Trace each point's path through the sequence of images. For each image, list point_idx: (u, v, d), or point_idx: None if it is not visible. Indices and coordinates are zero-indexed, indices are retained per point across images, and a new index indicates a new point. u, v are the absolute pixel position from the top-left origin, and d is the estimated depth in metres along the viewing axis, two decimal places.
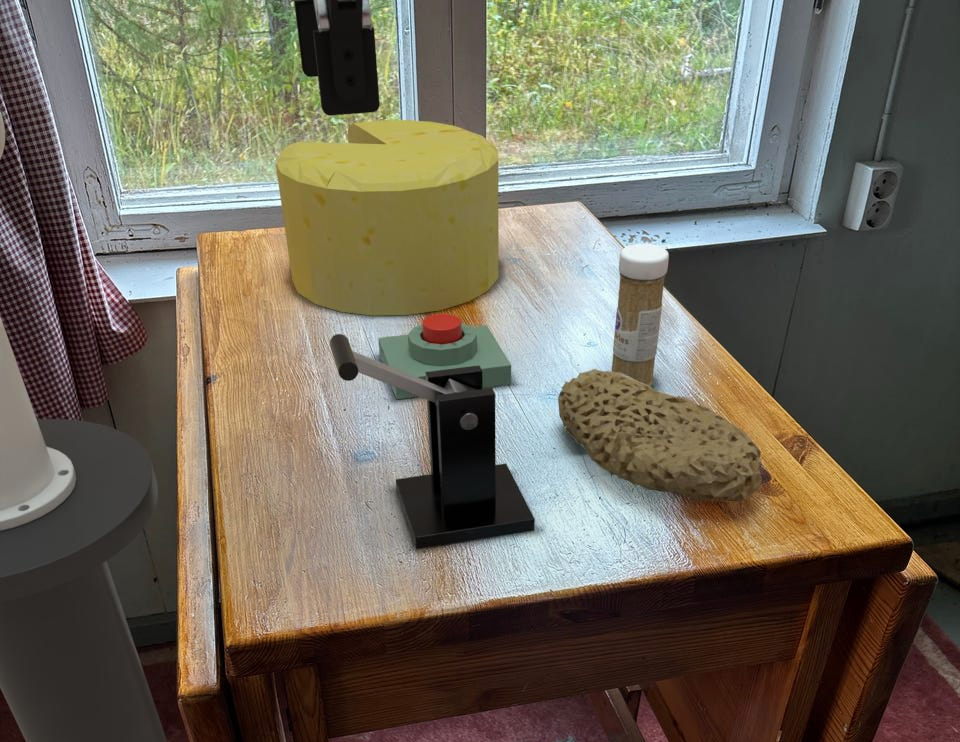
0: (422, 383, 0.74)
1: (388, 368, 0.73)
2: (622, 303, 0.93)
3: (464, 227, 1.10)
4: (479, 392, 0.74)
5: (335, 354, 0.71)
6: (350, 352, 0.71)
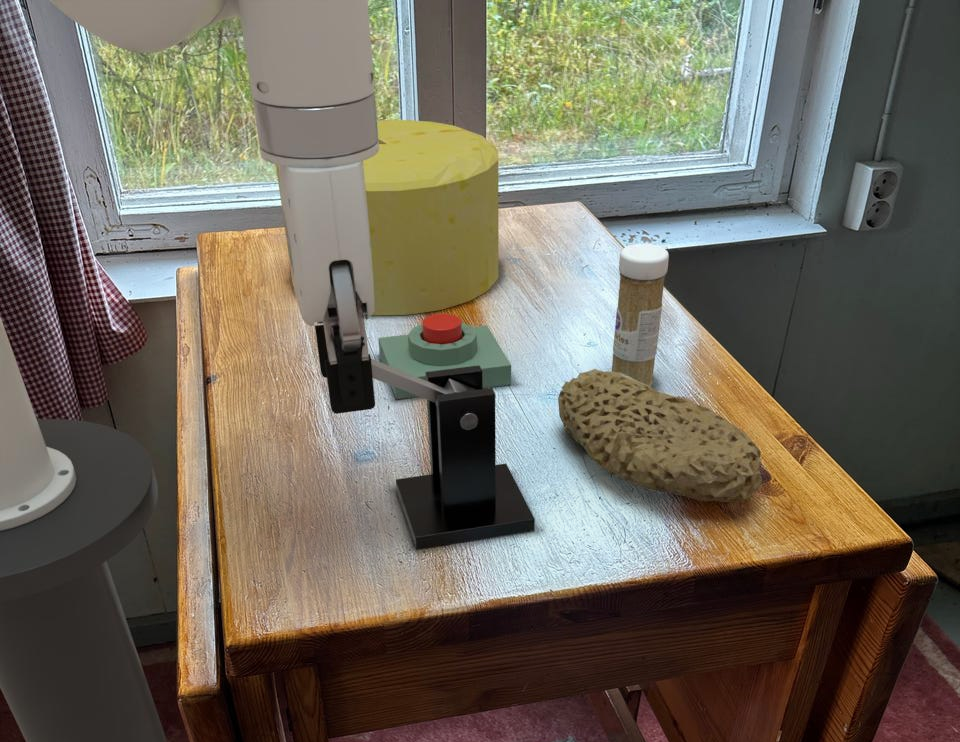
0: (422, 383, 0.74)
1: (388, 368, 0.73)
2: (622, 303, 0.93)
3: (464, 227, 1.10)
4: (479, 392, 0.74)
5: None
6: None
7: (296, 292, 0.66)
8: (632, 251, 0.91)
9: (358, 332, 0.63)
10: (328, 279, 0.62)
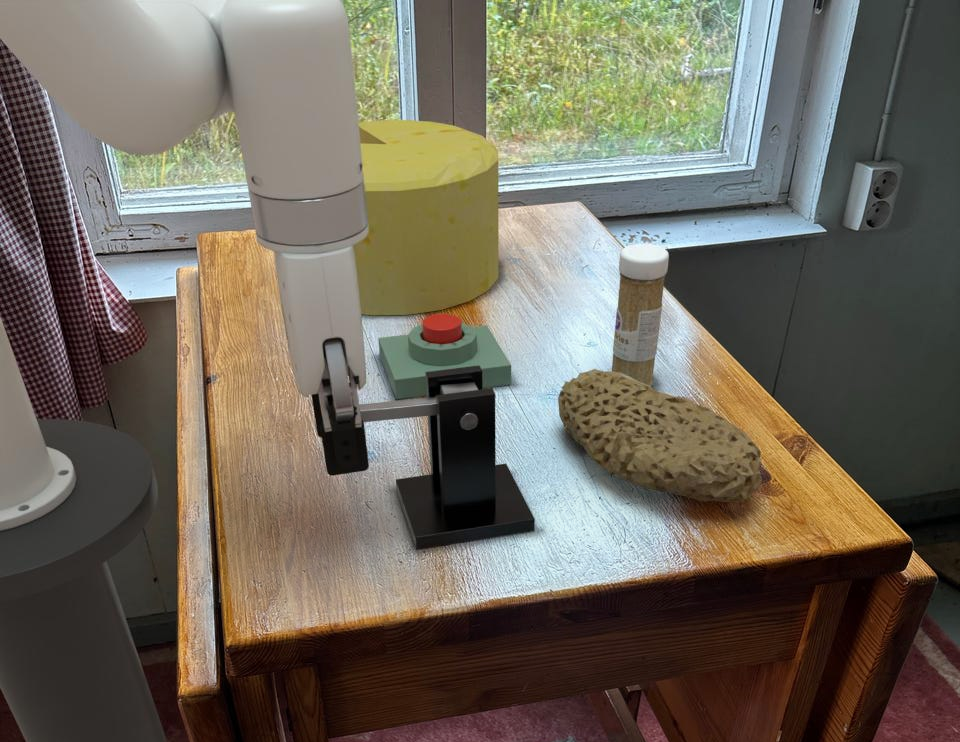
0: (414, 404, 0.75)
1: (377, 406, 0.74)
2: (622, 303, 0.93)
3: (464, 227, 1.10)
4: (479, 392, 0.74)
5: None
6: None
7: (292, 364, 0.69)
8: (632, 251, 0.91)
9: (351, 405, 0.66)
10: (322, 355, 0.65)
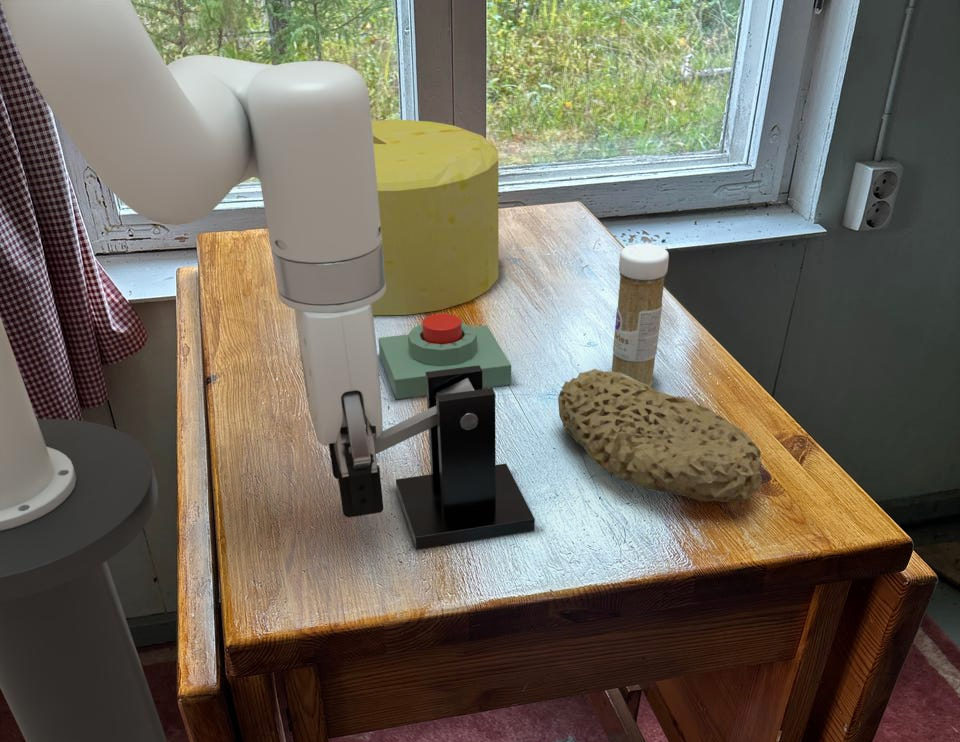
0: (416, 421, 0.76)
1: (382, 435, 0.76)
2: (622, 303, 0.93)
3: (464, 227, 1.10)
4: (479, 392, 0.74)
5: None
6: None
7: (311, 413, 0.72)
8: (632, 251, 0.91)
9: (368, 455, 0.69)
10: (340, 407, 0.68)
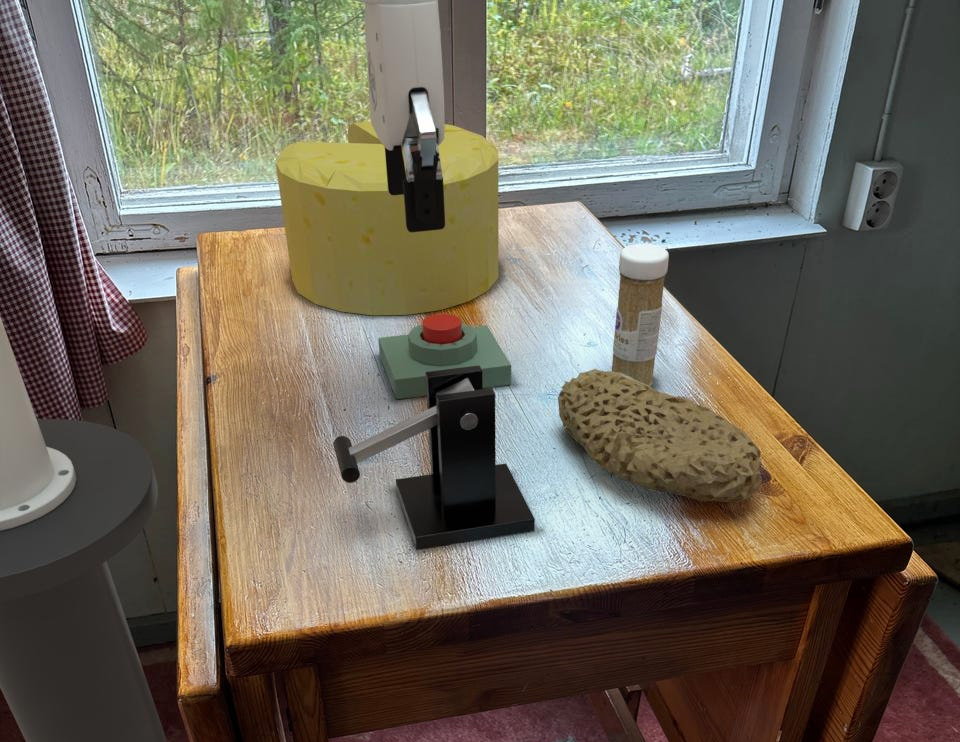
0: (416, 421, 0.76)
1: (382, 435, 0.76)
2: (622, 303, 0.93)
3: (464, 227, 1.10)
4: (479, 392, 0.74)
5: None
6: (344, 454, 0.76)
7: (377, 124, 0.78)
8: (632, 251, 0.91)
9: (433, 129, 0.72)
10: (407, 105, 0.74)
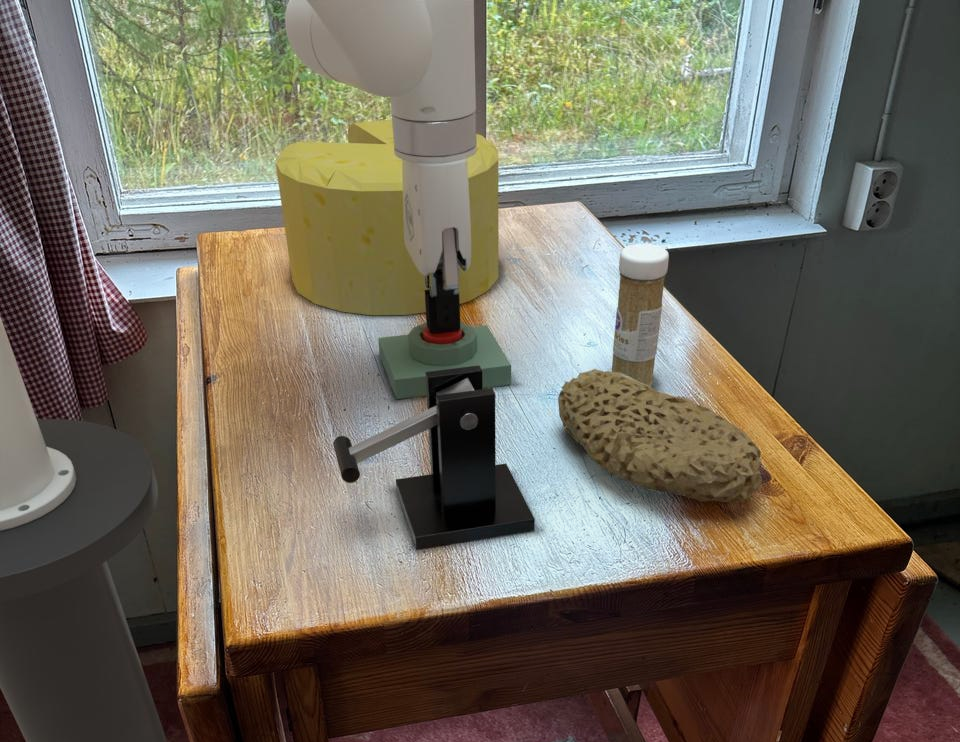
0: (416, 421, 0.76)
1: (382, 435, 0.76)
2: (622, 303, 0.93)
3: None
4: (479, 392, 0.74)
5: None
6: (344, 454, 0.76)
7: (413, 252, 0.92)
8: (632, 251, 0.91)
9: (457, 284, 0.91)
10: (441, 241, 0.88)
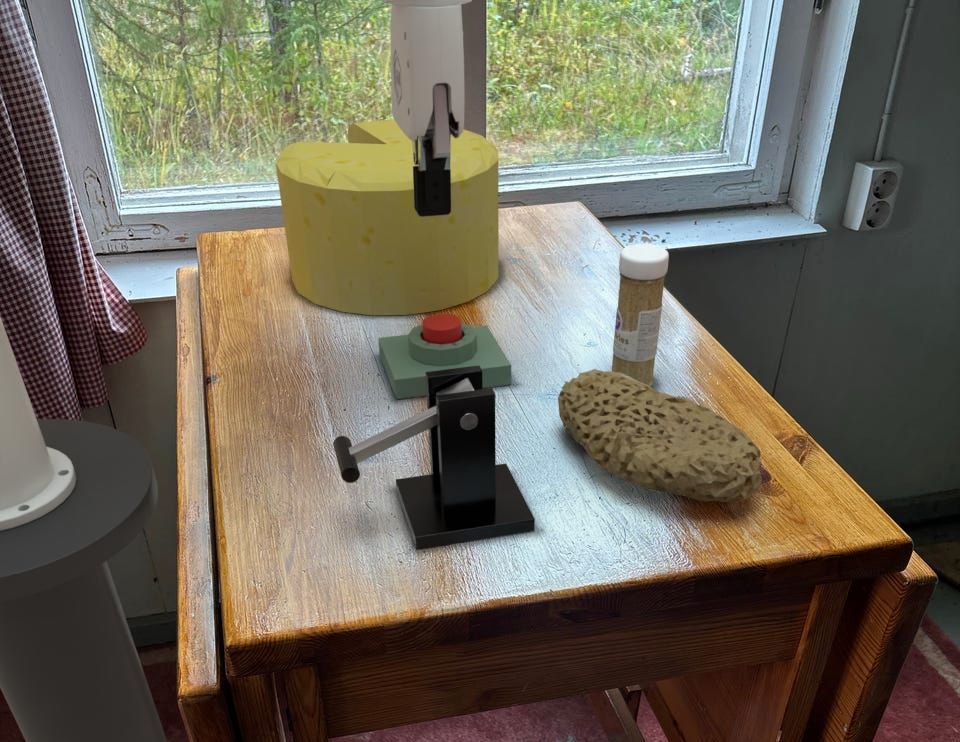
0: (416, 421, 0.76)
1: (382, 435, 0.76)
2: (622, 303, 0.93)
3: (464, 227, 1.10)
4: (479, 392, 0.74)
5: None
6: (344, 454, 0.76)
7: (401, 117, 0.84)
8: (632, 251, 0.91)
9: (448, 151, 0.83)
10: (431, 99, 0.81)
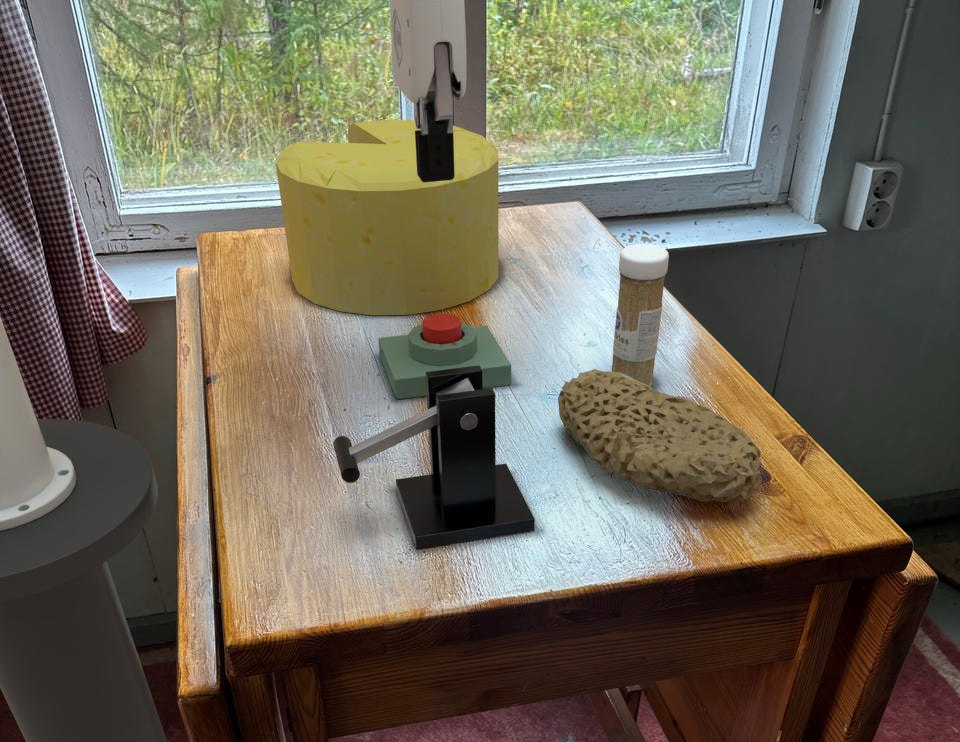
0: (416, 421, 0.76)
1: (382, 435, 0.76)
2: (622, 303, 0.93)
3: (464, 227, 1.10)
4: (479, 392, 0.74)
5: None
6: (344, 454, 0.76)
7: (402, 79, 0.83)
8: (632, 251, 0.91)
9: (451, 113, 0.81)
10: (432, 58, 0.79)
